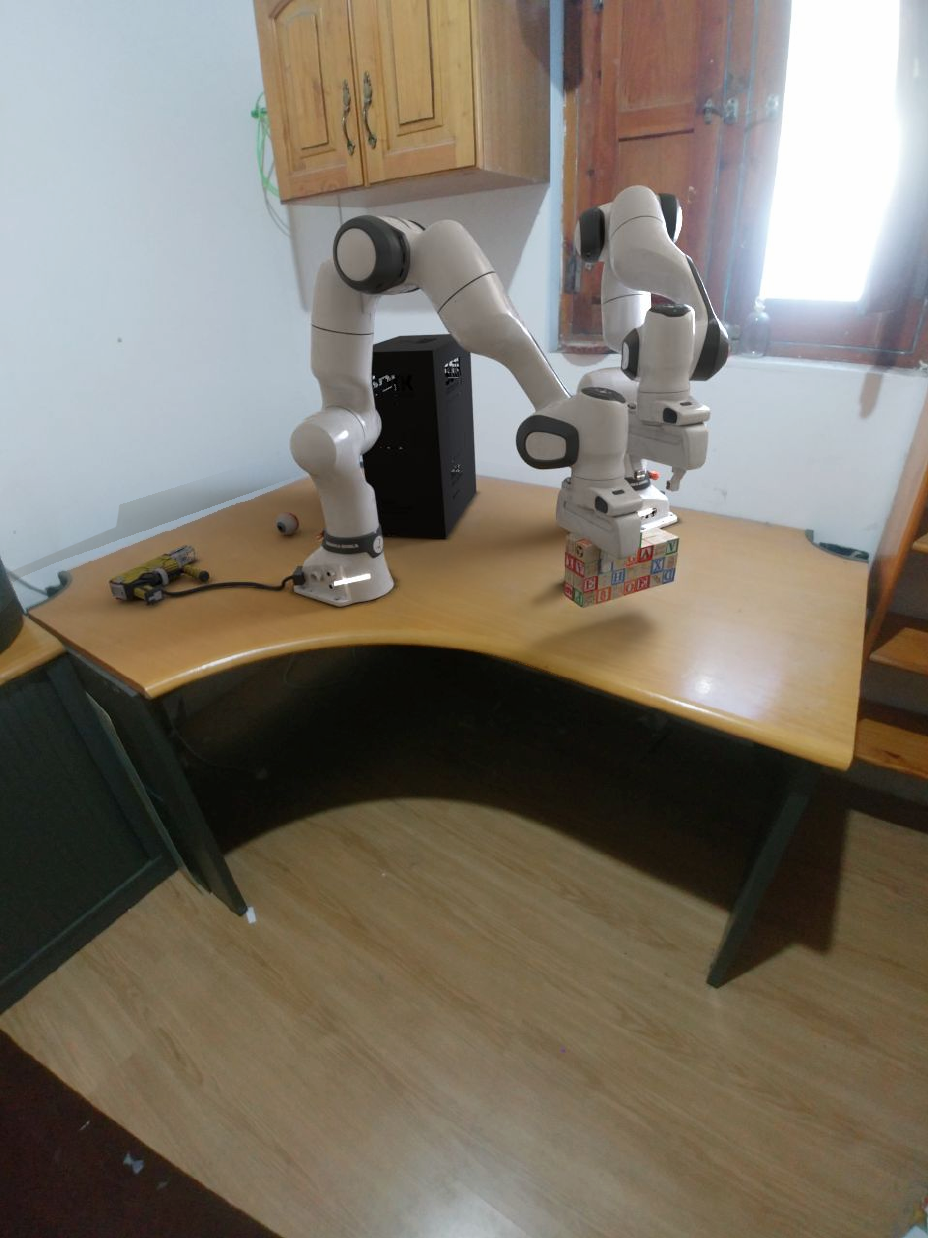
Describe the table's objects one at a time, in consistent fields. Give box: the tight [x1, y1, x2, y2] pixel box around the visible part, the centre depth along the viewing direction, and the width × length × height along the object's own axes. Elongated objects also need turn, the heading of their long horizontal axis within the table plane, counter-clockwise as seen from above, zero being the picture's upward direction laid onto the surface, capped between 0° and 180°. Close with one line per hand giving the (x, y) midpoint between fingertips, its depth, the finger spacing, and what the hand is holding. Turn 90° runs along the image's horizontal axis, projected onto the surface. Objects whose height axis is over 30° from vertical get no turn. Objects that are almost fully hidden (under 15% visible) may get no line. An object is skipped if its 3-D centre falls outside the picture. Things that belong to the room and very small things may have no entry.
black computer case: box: [361, 333, 477, 540], centre depth 163 cm, size 38×20×45 cm, turn 167°
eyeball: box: [275, 511, 300, 536], centre depth 163 cm, size 6×6×6 cm
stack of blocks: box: [563, 528, 680, 609], centre depth 112 cm, size 21×6×12 cm, turn 115°
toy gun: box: [108, 544, 210, 607], centre depth 141 cm, size 5×24×15 cm
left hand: (591, 563), depth 110 cm, fingers closed on stack of blocks, 6 cm apart
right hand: (654, 484), depth 113 cm, fingers open, 8 cm apart
